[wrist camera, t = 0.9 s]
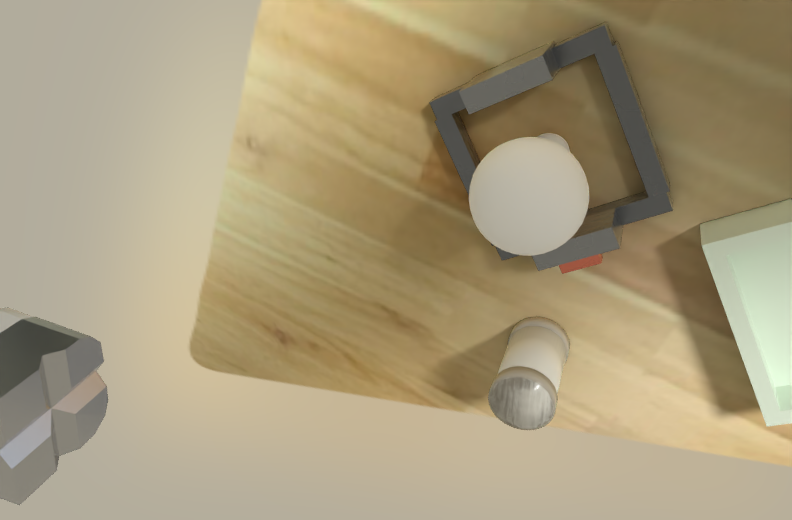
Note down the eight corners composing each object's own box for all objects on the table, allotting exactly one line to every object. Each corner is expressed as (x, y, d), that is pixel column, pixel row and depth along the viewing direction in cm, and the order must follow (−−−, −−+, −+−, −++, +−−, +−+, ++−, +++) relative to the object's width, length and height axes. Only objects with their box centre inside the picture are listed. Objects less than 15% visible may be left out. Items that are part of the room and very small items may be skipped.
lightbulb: (588, 205, 43) (564, 290, 34) (493, 182, 44) (447, 257, 35) (614, 111, 40) (597, 176, 31) (512, 89, 41) (466, 146, 32)
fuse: (556, 310, 47) (539, 369, 41) (578, 360, 48) (565, 424, 42) (501, 324, 49) (477, 382, 43) (523, 371, 50) (503, 434, 44)
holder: (608, 16, 38) (602, 28, 34) (680, 213, 41) (681, 241, 38) (430, 95, 43) (410, 112, 40) (507, 263, 47) (494, 291, 43)
